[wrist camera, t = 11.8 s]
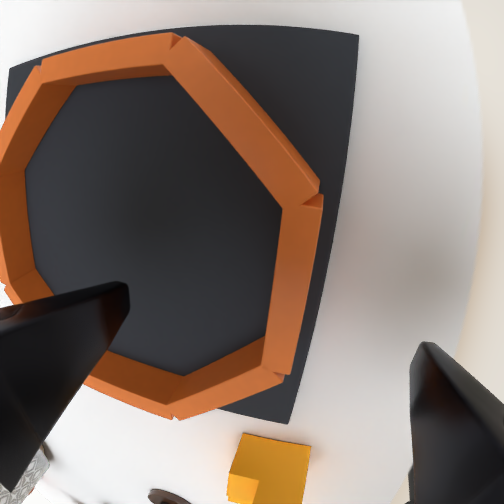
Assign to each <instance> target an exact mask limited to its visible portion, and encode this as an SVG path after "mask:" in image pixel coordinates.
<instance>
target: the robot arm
mask: <svg viewBox="0 0 504 504" xmlns="http://www.w3.org/2000/svg"><path fill="white" fill-rule="evenodd" d="M130 307H131V305H130V295H129V287H128V285H127V284H126V283H124V282H120V281H112V282H108V283H104V284H100V285H95V286H91V287H87V288H83V289H79V290H75V291H70V292H66V293H62V294H58V295H54V296H50V297H46V298H41V299H37V300H33V301H29V302H25V303H24V304H23V303H20V304H16V305H12V306H8V307H3V308H0V484H1V485H2V486H3V487H4V488H5V489H7V490H8V491H9V492H10V493H12V491H13V490H14V489H15V487H16V486H17V484H18V482H19V481H20V479H21V477H22V476H23V474H24V472H25V471H26V469H27V467H28V466H29V464H30V463H31V461H32V459H33V458H34V456H35V455H36V453H37V452H38V450H39V448H40V447H41V445H42V444H41V443H43V442H44V440H45V439H46V437H47V436H48V434H49V433H50V431H51V430H52V428H53V427H54V425H55V424H56V422H57V421H58V419H59V418H60V416H61V415H62V413H63V412H64V410H65V409H66V407H67V406H68V404H69V403H70V402H71V400H72V399H73V397H74V396H75V394H76V393H77V391H78V390H79V389H80V387H81V386H82V384H83V383H84V381H85V380H86V379H87V377H88V376H89V374H90V373H91V372H92V370H93V369H94V367H95V366H96V365H97V363H98V362H99V360H100V359H101V358H102V356H103V355H104V354H105V352H106V351H107V349H108V348H109V346H110V345H111V343H112V341H113V340H114V338H115V336H116V334H117V333H118V331H119V329H120V328H121V326H122V324H123V322H124V321H125V319H126V317H127V316H128V314H129V312H130ZM410 422H411V434H412V448H413V467H414V504H504V404H503V403H502V402H501V401H499V400H498V399H497V398H496V397H495V396H494V395H493V394H492V393H491V392H490V391H489V390H488V389H486V388H485V387H484V386H483V385H482V384H481V383H480V382H479V381H478V380H476V379H475V378H474V377H473V376H472V375H471V374H470V373H469V372H467V371H466V370H465V369H464V368H463V367H462V366H461V365H459V364H458V363H457V362H456V361H455V360H454V359H453V358H451V357H450V356H449V355H448V354H447V353H446V352H445V351H443V350H442V349H441V348H440V347H439V346H438V345H436V344H435V343H433V342H421V343H420V345H419V347H418V349H417V351H416V353H415V356H414V358H413V360H412V362H411V365H410Z"/></svg>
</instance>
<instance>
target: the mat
mask: <svg viewBox="0 0 504 504" xmlns="http://www.w3.org/2000/svg"><path fill="white" fill-rule="evenodd" d="M169 32H172V33H174V34H176V35H178V36H180V37H182V38H183V37H184V36H186V37H188V38H189V39H191V40H193V41H195V42H196V43H198V44H199V45H201V46H203V47H204V48H206V49H208V50H209V51H211V52H212V53H213V54H214V55H215V56H216V57H217V58H218V60H219V61H220V62H221V63H222V64H223V65H224V66H225V67H226V68H227V69H228V70H229V71H230V72H231V73H232V75H233V76H234V77H235V78H236V79H237V80H238V81H239V82H240V83H241V85H242V86H243V87H244V88H245V89H246V90H247V91H248V92H249V94H250V95H251V96H252V97H253V98H254V99H255V100H256V102H257V103H258V104H259V105H260V106H261V107H262V108H263V110H264V111H265V112H266V113H267V114H268V116H269V117H270V118H271V119H272V120H273V122H274V123H275V124H276V125H277V126H278V128H279V129H280V130H281V131H282V132H283V134H284V135H285V136H286V137H287V139H288V140H289V141H290V142H291V144H292V145H293V146H294V147H295V149H296V150H297V151H298V152H299V154H300V155H301V156H302V157H303V159H304V160H305V161H306V163H307V164H308V165H309V167H310V168H311V169H312V170H313V172H314V173H315V174H316V176H317V177H318V178H319V180H320V185H319V191H318V193H319V194H323V196H324V199H323V211H322V217H321V224H320V230H319V235H318V241H317V247H316V253H315V258H314V264H313V269H312V274H311V280H310V285H309V290H308V295H307V300H306V305H305V310H304V315H303V320H302V324H301V329H300V334H299V338H298V343H297V347H296V352H295V356H294V360H293V365H292V369H291V373H290V375H287V374H285V376H284V380H283V382H282V383H281V384H278V385H276V386H273V387H271V388H269V389H266V390H264V391H261V392H259V393H256V394H254V395H251V396H249V397H246V398H244V399H241V400H238V401H236V402H233V403H230V404H228V405H225V406H222V407H219V408H217V409H221V410H225V411H229V412H233V413H237V414H241V415H245V416H249V417H254V418H258V419H263V420H267V421H272V422H277V423H282V424H288V423H289V419H290V416H291V413H292V409H293V406H294V402H295V399H296V395H297V392H298V388H299V385H300V381H301V377H302V374H303V370H304V366H305V362H306V358H307V355H308V351H309V347H310V343H311V339H312V335H313V331H314V326H315V322H316V318H317V314H318V309H319V305H320V300H321V296H322V291H323V287H324V282H325V277H326V273H327V268H328V263H329V258H330V253H331V248H332V243H333V237H334V232H335V226H336V221H337V215H338V209H339V203H340V197H341V191H342V185H343V178H344V172H345V165H346V158H347V151H348V143H349V136H350V128H351V119H352V111H353V101H354V92H355V81H356V70H357V57H358V43H359V35H356V34H350V33H343V32H337V31H329V30H321V29H312V28H302V27H289V26H271V25H215V26H197V27H184V28H174V29H165V30H157V31H149V32H143V33H136V34H130V35H125V36H119V37H114V38H109V39H105V40H100V41H96V42H91V43H87V44H83V45H79V46H76V47H72V48H68V49H65V50H61V51H58V52H55V53H51V54H48V55H45V56H42V57H39V58H36V59H33V60H30V61H28V62H25V63H22V64H20V65H17V66H14V67H12V68H10V69H9V77H8V87H7V98H6V114H5V120H6V118H7V116H8V113H9V111H10V110H11V108H12V106H13V104H14V102H15V100H16V98H17V96H18V94H19V92H20V91H21V89H22V87H23V85H24V84H25V82H26V80H27V78H28V77H29V75H30V73H31V72H32V70H33V68H34V67H35V66H36V65H37V66H41V65H42V60H43V59H45V58H48V57H51V56H54V55H58V54H61V53H65V52H68V51H72V50H76V49H80V48H84V47H88V46H92V45H96V44H101V43H106V42H111V41H116V40H121V39H126V38H132V37H139V36H145V35H152V34H160V33H169ZM25 186H26V200H27V211H28V221H29V229H30V237H31V244H32V250H33V257H34V262H35V268H36V270H37V271H38V273H39V274H40V276H41V277H42V278H43V280H44V281H45V283H46V284H47V286H48V287H49V288H50V290H51V291H52V293H53V294H54V295H58V294H62V293H66V292H70V291H75V290H79V289H83V288H87V287H91V286H95V285H100V284H104V283H108V282H112V281H120V282H124V283H126V284H127V285H128V287H129V295H130V305H131V307H130V312H129V314H128V316H127V317H126V319H125V321H124V322H123V324H122V326H121V328H120V329H119V331H118V333H117V334H116V336H115V338H114V340H113V341H112V343H111V345H110V346H109V348H108V349H107V350H108V351H110V352H113V353H115V354H118V355H121V356H124V357H126V358H129V359H132V360H135V361H138V362H140V363H143V364H146V365H149V366H152V367H155V368H158V369H161V370H165V371H168V372H171V373H174V374H177V375H181V376H186V375H188V374H190V373H192V372H194V371H197V370H199V369H201V368H203V367H205V366H207V365H209V364H211V363H213V362H215V361H217V360H219V359H221V358H223V357H225V356H227V355H229V354H231V353H233V352H235V351H237V350H239V349H241V348H243V347H245V346H247V345H248V344H250V343H252V342H254V341H256V340H258V339H260V338H262V337H264V336H265V334H266V327H267V320H268V313H269V306H270V299H271V292H272V285H273V278H274V271H275V263H276V256H277V248H278V241H279V233H280V225H281V217H282V210H283V209H282V207H281V206H280V205H279V203H278V202H277V201H276V200H275V198H274V197H273V196H272V194H271V193H270V192H269V191H268V189H267V188H266V187H265V186H264V184H263V183H262V182H261V181H260V179H259V178H258V177H257V176H256V174H255V173H254V172H253V171H252V169H251V168H250V167H249V166H248V164H247V163H246V162H245V161H244V159H243V158H242V157H241V156H240V154H239V153H238V152H237V151H236V150H235V148H234V147H233V146H232V145H231V143H230V142H229V141H228V140H227V139H226V137H225V136H224V135H223V134H222V133H221V131H220V130H219V129H218V128H217V127H216V125H215V124H214V123H213V122H212V121H211V119H210V118H209V117H208V116H207V115H206V114H205V112H204V111H203V110H202V109H201V108H200V107H199V105H198V104H197V103H196V102H195V101H194V100H193V98H192V97H191V96H190V95H189V94H188V93H187V91H186V90H185V89H184V88H183V87H182V86H181V85H180V83H179V82H178V81H177V80H176V79H175V78H174V77H173V76H172V75H169V76H152V77H139V78H129V79H119V80H111V81H103V82H96V83H89V84H83V85H77V86H76V87H75V89H74V90H73V91H72V93H71V94H70V96H69V97H68V99H67V100H66V101H65V103H64V104H63V106H62V107H61V109H60V110H59V112H58V114H57V115H56V117H55V118H54V120H53V121H52V123H51V125H50V126H49V128H48V129H47V131H46V133H45V134H44V136H43V138H42V140H41V141H40V143H39V145H38V147H37V148H36V150H35V152H34V154H33V156H32V157H31V159H30V161H29V163H28V165H27V167H26V169H25Z"/></svg>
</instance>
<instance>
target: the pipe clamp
mask: <svg viewBox="0 0 504 504" xmlns="http://www.w3.org/2000/svg"><path fill="white" fill-rule="evenodd" d="M310 450H311V446H305V445H299V444H293V443H288V442H282V441H277V440H272V439H267V438H262V437H258V436H253V435H249V434H245V433H243V434H242V437H241V440H240V443H239V446H238V449H237V452H236V455H235V457H234V460H233V463H232V466H231V469H230V472H229V477H228V486H227V496H228V501H231V502H235V503H239V504H302V500H303V494H304V488H305V482H306V476H307V470H308V463H309V457H310Z"/></svg>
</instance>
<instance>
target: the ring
mask: <svg viewBox="0 0 504 504" xmlns="http://www.w3.org/2000/svg"><path fill="white" fill-rule="evenodd" d="M169 75H172V76H173V77H174V78H175V79H176V80H177V81H178V82H179V83H180V85H181V86H182V87H183V88H184V89H185V90H186V91H187V93H188V94H189V95H190V96H191V97H192V98H193V100H194V101H195V102H196V103H197V104H198V105H199V107H200V108H201V109H202V110H203V111H204V112H205V114H206V115H207V116H208V117H209V118H210V119H211V121H212V122H213V123H214V124H215V125H216V127H217V128H218V129H219V130H220V131H221V133H222V134H223V135H224V136H225V137H226V139H227V140H228V141H229V142H230V143H231V145H232V146H233V147H234V148H235V150H236V151H237V152H238V153H239V154H240V156H241V157H242V158H243V159H244V161H245V162H246V163H247V164H248V166H249V167H250V168H251V169H252V171H253V172H254V173H255V174H256V176H257V177H258V178H259V179H260V181H261V182H262V183H263V184H264V186H265V187H266V188H267V189H268V191H269V192H270V193H271V194H272V196H273V197H274V198H275V200H276V201H277V202H278V203H279V205H280V206H281V207H282V209H283V210H282V217H281V225H280V233H279V241H278V248H277V256H276V263H275V271H274V278H273V285H272V292H271V299H270V306H269V313H268V320H267V327H266V334H265V336H264V337H262V338H260V339H258V340H256V341H254V342H252V343H250V344H248V345H247V346H245V347H243V348H241V349H239V350H237V351H235V352H233V353H231V354H229V355H227V356H225V357H223V358H221V359H219V360H217V361H215V362H213V363H211V364H209V365H207V366H205V367H203V368H201V369H199V370H197V371H194V372H192V373H190V374H188V375H186V376H181V375H177V374H174V373H171V372H168V371H165V370H161V369H158V368H155V367H152V366H149V365H146V364H143V363H140V362H138V361H135V360H132V359H129V358H126V357H124V356H121V355H118V354H115V353H113V352H110V351H108V350H107V351H106V352H105V354H104V355H103V356H102V358H101V359H100V360H99V362H98V363H97V365H96V366H95V367H94V369H93V370H92V372H91V373H90V374H89V376H88V377H87V379H86V380H85V381H84V383H83V384H84V385H86V386H88V387H90V388H92V389H95V390H97V391H99V392H101V393H103V394H106V395H108V396H110V397H113V398H115V399H117V400H120V401H122V402H124V403H127V404H129V405H132V406H134V407H137V408H139V409H142V410H145V411H147V412H150V413H153V414H155V415H158V416H161V417H164V418H167V419H170V420H172V419H173V417H174V416H175V417H176V418H177V419H178V420H184V419H187V418H190V417H193V416H196V415H199V414H202V413H205V412H208V411H211V410H214V409H216V408H219V407H222V406H225V405H228V404H230V403H233V402H236V401H238V400H241V399H244V398H246V397H249V396H251V395H254V394H256V393H259V392H261V391H264V390H266V389H269V388H271V387H273V386H276V385H278V384H281V383H282V382H283V380H284V376H285V374H287V375H290V373H291V369H292V365H293V360H294V356H295V352H296V347H297V343H298V338H299V334H300V329H301V324H302V320H303V315H304V310H305V305H306V300H307V295H308V290H309V285H310V280H311V274H312V269H313V264H314V258H315V253H316V247H317V241H318V235H319V230H320V224H321V217H322V211H323V199H324V196H323V194H319V193H318V191H319V185H320V180H319V178H318V177H317V176H316V174H315V173H314V172H313V170H312V169H311V168H310V167H309V165H308V164H307V163H306V161H305V160H304V159H303V157H302V156H301V155H300V154H299V152H298V151H297V150H296V149H295V147H294V146H293V145H292V144H291V142H290V141H289V140H288V139H287V137H286V136H285V135H284V134H283V132H282V131H281V130H280V129H279V128H278V126H277V125H276V124H275V123H274V122H273V120H272V119H271V118H270V117H269V116H268V114H267V113H266V112H265V111H264V110H263V108H262V107H261V106H260V105H259V104H258V103H257V102H256V100H255V99H254V98H253V97H252V96H251V95H250V94H249V92H248V91H247V90H246V89H245V88H244V87H243V86H242V85H241V83H240V82H239V81H238V80H237V79H236V78H235V77H234V76H233V75H232V73H231V72H230V71H229V70H228V69H227V68H226V67H225V66H224V65H223V64H222V63H221V62H220V61H219V60H218V58H217V57H216V56H215V55H214V54H213V53H212V52H211V51H209V50H208V49H206V48H204V47H203V46H201V45H199V44H198V43H196V42H195V41H193V40H191V39H189V38H188V37H186V36H184V37H183V38H182V37H180V36H178V35H176V34H174V33H172V32H169V33H160V34H152V35H145V36H139V37H132V38H126V39H121V40H116V41H111V42H106V43H101V44H96V45H92V46H88V47H84V48H80V49H76V50H72V51H68V52H65V53H61V54H58V55H54V56H51V57H48V58H45V59H43V60H42V65H41V66H37V65H36V66H35V67H34V68H33V70H32V72H31V73H30V75H29V77H28V78H27V80H26V82H25V84H24V85H23V87H22V89H21V91H20V92H19V94H18V96H17V98H16V100H15V102H14V104H13V106H12V108H11V110H10V111H9V113H8V116H7V118H6V120H5V122H4V124H3V126H2V128H1V130H0V281H1V283H3V284H5V285H6V286H5V289H4V291H5V292H6V294H7V295H8V297H9V298H10V300H11V301H12V303H13V304H14V305H16V304H20V303H23V304H24V303H25V302H29V301H33V300H37V299H41V298H46V297H50V296H54V294H53V293H52V291H51V290H50V288H49V287H48V286H47V284H46V283H45V281H44V280H43V278H42V277H41V276H40V274H39V273H38V271H37V270H36V268H35V262H34V257H33V250H32V244H31V237H30V229H29V221H28V211H27V200H26V186H25V169H26V167H27V165H28V163H29V161H30V159H31V157H32V156H33V154H34V152H35V150H36V148H37V147H38V145H39V143H40V141H41V140H42V138H43V136H44V134H45V133H46V131H47V129H48V128H49V126H50V125H51V123H52V121H53V120H54V118H55V117H56V115H57V114H58V112H59V110H60V109H61V107H62V106H63V104H64V103H65V101H66V100H67V99H68V97H69V96H70V94H71V93H72V91H73V90H74V89H75V87H76V86H77V85H83V84H89V83H96V82H103V81H111V80H119V79H129V78H139V77H152V76H169Z"/></svg>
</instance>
